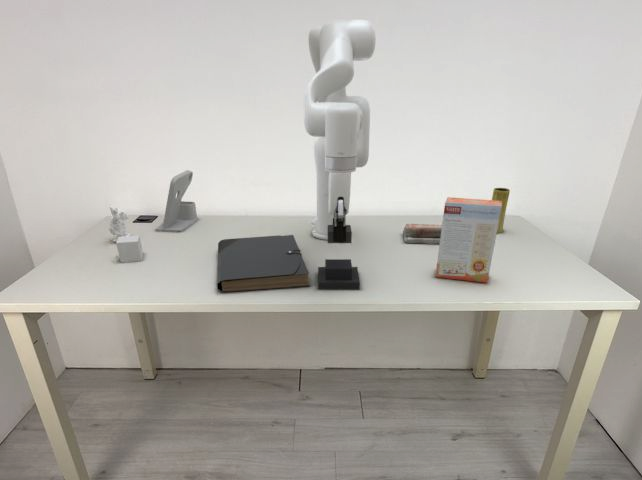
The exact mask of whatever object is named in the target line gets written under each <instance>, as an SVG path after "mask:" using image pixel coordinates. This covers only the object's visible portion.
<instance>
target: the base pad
mask: <svg viewBox="0 0 642 480" xmlns="http://www.w3.org/2000/svg"><path fill="white" fill-rule="evenodd" d="M360 287H361V280H360V275H359V269H358V266H352V279H326V277H325V266H318V267H317V290H360V289H361V288H360Z"/></svg>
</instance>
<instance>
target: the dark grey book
mask: <svg viewBox="0 0 642 480" xmlns="http://www.w3.org/2000/svg"><path fill="white" fill-rule="evenodd" d="M309 274H310V272H309V270H308V267H307V265H306V262H305V260H304V258H303V254H302V253H301V249H300V248H299V246H298V243H297V241H296V238H295V236H294V234H287V235H286V234H285V235H281V234H280V235H266V236H265V235H264V236H252V237H237V238H225V239H221V240H219V242H218V243H217V274H216V275H217V277H216V288H217V290H219V292H221V293H237V292H251V291H263V290H275V289H289V288H290V289H291V288H301V287H310V284H309Z"/></svg>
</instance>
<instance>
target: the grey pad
mask: <svg viewBox="0 0 642 480" xmlns="http://www.w3.org/2000/svg"><path fill="white" fill-rule="evenodd" d="M333 226H335V225H328V240H327V244H352V235H353V234H352V233H353V231H352V226H351V224H346V241H345V242H334V241H333Z"/></svg>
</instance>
